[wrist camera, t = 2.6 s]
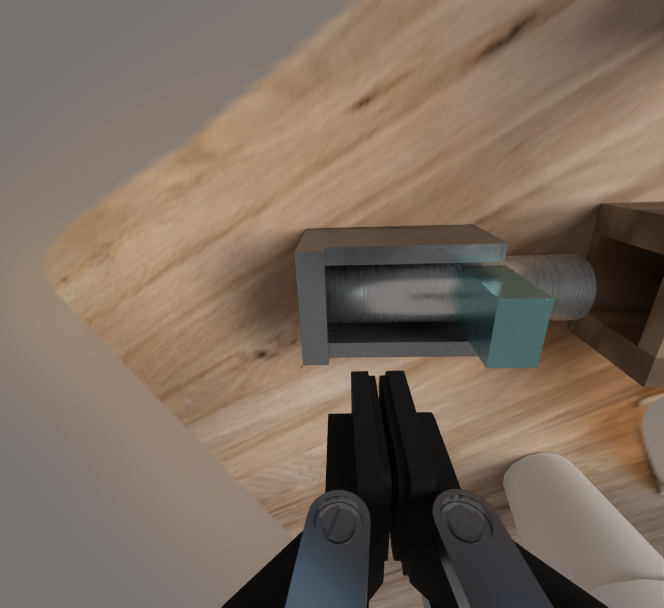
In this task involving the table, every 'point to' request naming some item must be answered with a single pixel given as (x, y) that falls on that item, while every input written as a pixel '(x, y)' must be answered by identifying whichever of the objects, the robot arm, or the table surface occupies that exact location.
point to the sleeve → (377, 250)
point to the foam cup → (582, 533)
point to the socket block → (628, 290)
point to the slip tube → (470, 299)
